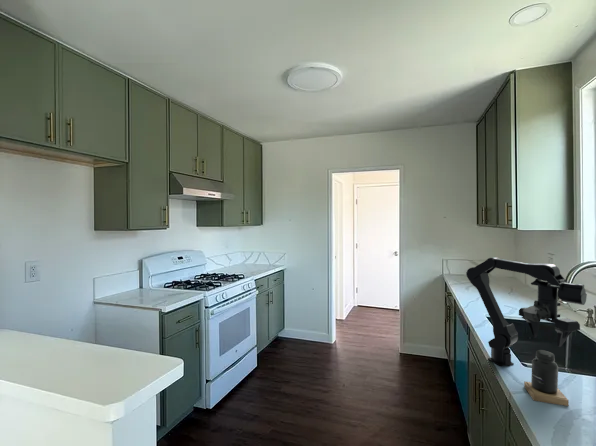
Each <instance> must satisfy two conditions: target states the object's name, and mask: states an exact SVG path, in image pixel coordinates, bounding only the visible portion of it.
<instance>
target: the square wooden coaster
mask: <svg viewBox="0 0 596 446" xmlns="http://www.w3.org/2000/svg"><path fill="white" fill-rule="evenodd" d="M523 387H524V389H525V390H526V391H527V392H528V394H529V396H530V397H531V399H532V400H533V402H542V403H547V404H553V405H559V406H565V407H569V399H568V398H567V396H565V394H564V393H563V392H562V391H561V389H559V388H558V390H557V393H556V394H546V393H542V392H540V391H537V390H536V389H534V388H533V387H532V385H531V381H524V385H523Z"/></svg>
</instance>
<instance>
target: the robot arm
mask: <svg viewBox="0 0 596 446" xmlns="http://www.w3.org/2000/svg"><path fill="white" fill-rule="evenodd" d="M495 269H499V270H505V271H508V272H514V273H521V274H525V275H527V276H530V277H531V278H534V279H535V280H534V281H532V282H531V283H530V284H531V286H537V300H534V302H533V305H530V306H529V307H521V308H520V309H519V310H518V316H521V319H523V320H525V321H526V323H527V324H528V326H529V329H530V332H531V334H532V337H533V338H537V337H538V335H539V329H540V324H541V320H542V321H546V322H549V323H553V324H554V326H555V327H554V330H555V332H556V344H557V347H558V348H562V347H563V345H564V343H565V342H566V340H568V337H569V336H570V335H571V334H572V333H573V332H576V331H581V324H580V322H578V321H577V320H574V319H570V318H567V317H566V318H561V314H560V313H558V307H561V302H558V299H559V300H561V301H562V303H569V304H575V305H580V306H585V304H586V302H587V299H588V298H587V292H586V289H585V284H582V283H572V282H571V283H570V282H568V281H567V280H566V278H564V276H563V275H562V274H561V271H560V268H559V267H558V266H557V265H556V264H553V263H527V262H521V261H516V260H510V259H503V258H499V257H496V256H494V257H489V258H487V259H486V260H484V261H483V262H481V263H480V264H477V265H475V266H474V267H469V268H468V269H467V270H466V273H465V275H466V277H467V280H468V281H469V282H470V284H471V285H472V286H473V287H474V288H475V289H476V290H477V292H478V293H479V297H480V298H481V300H482V303H483V304H484V307H485V308H486V312H487V313H488V316H489V318H490V321H491V323H492V332H493V336H494V337H493V338H492V339H490V340H488V342H487V343H488V346H489V347H490V350H491V352H490V357H487V360H488V361H490V362H492V363H494V364H496V365H497V366H499V367H500V366H501V367H502V366H503V367H504V366H513V365H514V364H515V363H514V362H513V361H512V354H511V351H512V350H511V348H510V347H512V346H513V344H515V343H516V342H517V341H518V340H519V332H518V331H517V329H516V327H515V324H514V323H511V324H510V323H509V322H508V321H507V320H506V319H505V317H504V314H503V312H502V310H501V308H500V305H499V304H498V302H497V299H496V298H495V297H496V296H495V295H494V293H493V291H492V289H491V286H490V276H489V274H490V273H491V272H492V271H493V272H494V270H495Z"/></svg>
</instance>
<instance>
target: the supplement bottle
mask: <svg viewBox="0 0 596 446" xmlns="http://www.w3.org/2000/svg"><path fill="white" fill-rule="evenodd" d="M555 361H556V359H555V354H554V353H553V352H551V351H549V350H548V351H547V350H544V349H537V350H535V358H533V359H532V360H531V376H530V377H531V381H530V382H531V385H532V387H533V388H534V389H536V390H537V391H540V392H542V393H546V394H556V393H557V390H558V389H559V388H558V387H559V385H558V384H559V366H558V364H557V362H555Z"/></svg>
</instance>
